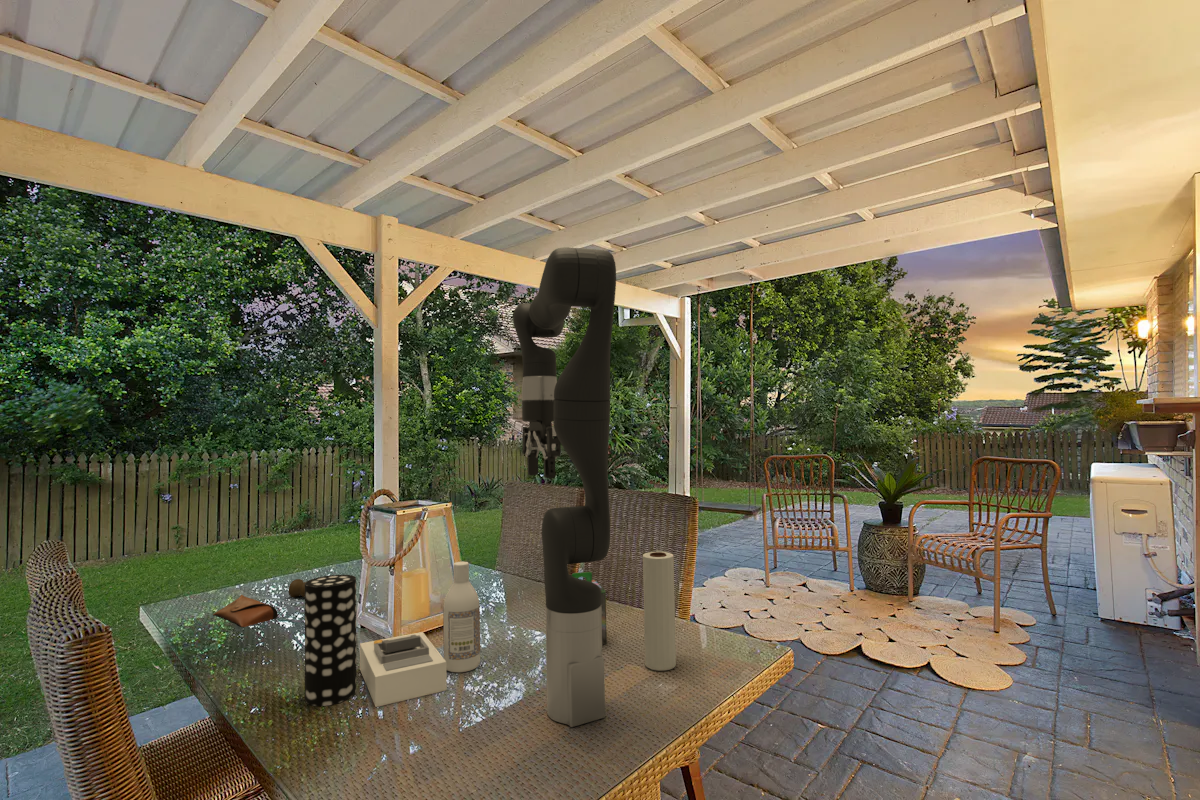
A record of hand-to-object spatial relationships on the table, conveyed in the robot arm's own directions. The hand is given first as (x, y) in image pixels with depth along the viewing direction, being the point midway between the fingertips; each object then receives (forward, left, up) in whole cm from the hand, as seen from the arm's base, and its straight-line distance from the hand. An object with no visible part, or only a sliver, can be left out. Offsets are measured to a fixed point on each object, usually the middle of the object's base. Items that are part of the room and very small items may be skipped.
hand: (541, 476), depth 125 cm
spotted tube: (+2, +40, -36) cm, 54 cm away
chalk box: (+2, -10, -36) cm, 38 cm away
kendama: (+67, +36, -37) cm, 84 cm away
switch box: (+2, +28, -36) cm, 46 cm away
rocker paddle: (+2, +28, -30) cm, 41 cm away
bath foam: (+2, +17, -36) cm, 40 cm away
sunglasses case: (+62, +54, -37) cm, 90 cm away
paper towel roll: (-18, -17, -36) cm, 44 cm away
